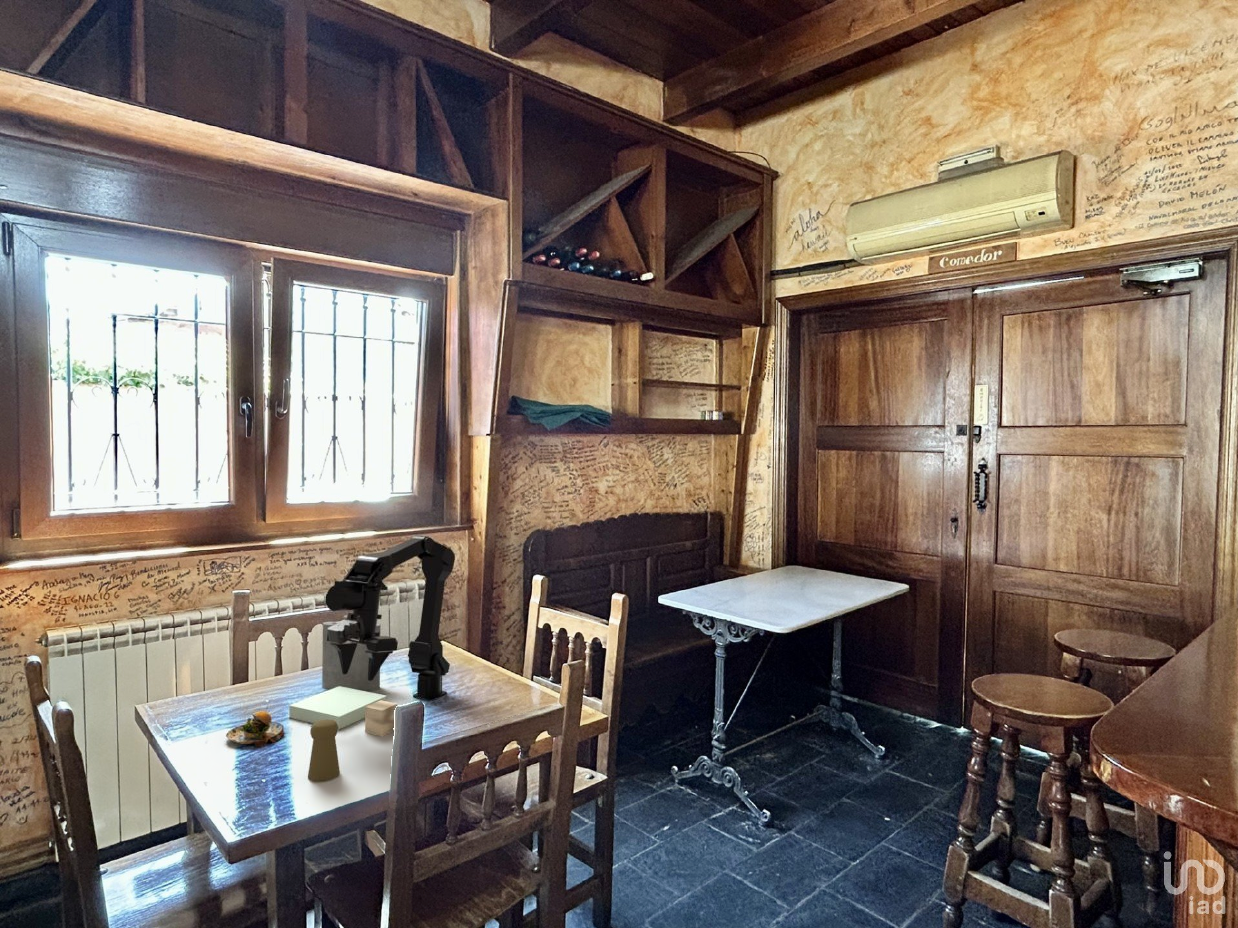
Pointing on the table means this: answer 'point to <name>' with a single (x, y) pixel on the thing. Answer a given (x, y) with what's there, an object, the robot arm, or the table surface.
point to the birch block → (379, 718)
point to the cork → (324, 751)
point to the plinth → (335, 706)
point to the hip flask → (357, 670)
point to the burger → (257, 730)
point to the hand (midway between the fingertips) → (357, 677)
